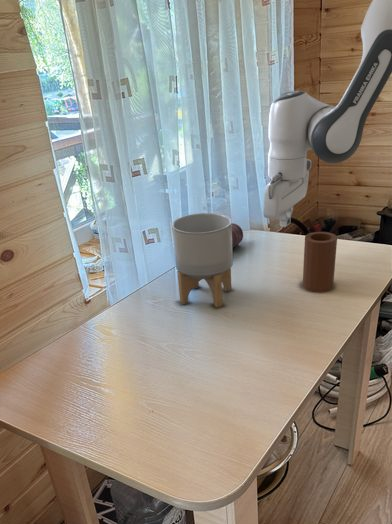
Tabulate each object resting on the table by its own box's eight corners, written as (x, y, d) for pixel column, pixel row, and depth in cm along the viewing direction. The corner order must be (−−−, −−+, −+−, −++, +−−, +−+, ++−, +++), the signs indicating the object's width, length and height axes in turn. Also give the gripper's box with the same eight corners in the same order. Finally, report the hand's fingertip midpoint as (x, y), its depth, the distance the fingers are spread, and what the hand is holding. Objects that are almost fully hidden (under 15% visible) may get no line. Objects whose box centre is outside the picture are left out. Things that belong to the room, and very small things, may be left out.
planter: (244, 299, 118) (242, 224, 109) (194, 314, 114) (188, 237, 104) (216, 279, 128) (213, 209, 119) (169, 293, 124) (162, 220, 114)
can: (223, 239, 150) (197, 256, 140) (227, 219, 146) (201, 235, 136) (241, 247, 148) (216, 265, 138) (246, 227, 144) (221, 244, 134)
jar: (336, 282, 123) (340, 233, 116) (327, 294, 118) (331, 244, 111) (308, 277, 126) (311, 230, 120) (298, 289, 121) (300, 240, 114)
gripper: (282, 180, 112) (281, 241, 120) (313, 159, 127) (310, 214, 134) (256, 178, 115) (256, 237, 122) (289, 158, 130) (287, 212, 137)
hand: (285, 225), depth 128 cm, fingers closed
